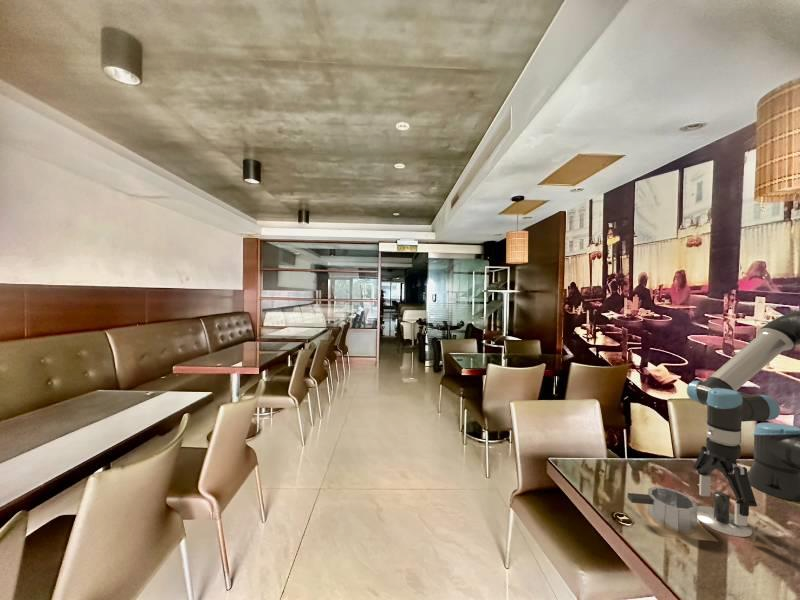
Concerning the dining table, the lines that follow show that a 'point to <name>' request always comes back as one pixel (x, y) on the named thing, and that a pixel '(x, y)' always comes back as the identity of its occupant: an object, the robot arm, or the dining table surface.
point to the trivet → (699, 535)
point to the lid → (722, 517)
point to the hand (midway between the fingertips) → (721, 509)
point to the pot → (669, 509)
